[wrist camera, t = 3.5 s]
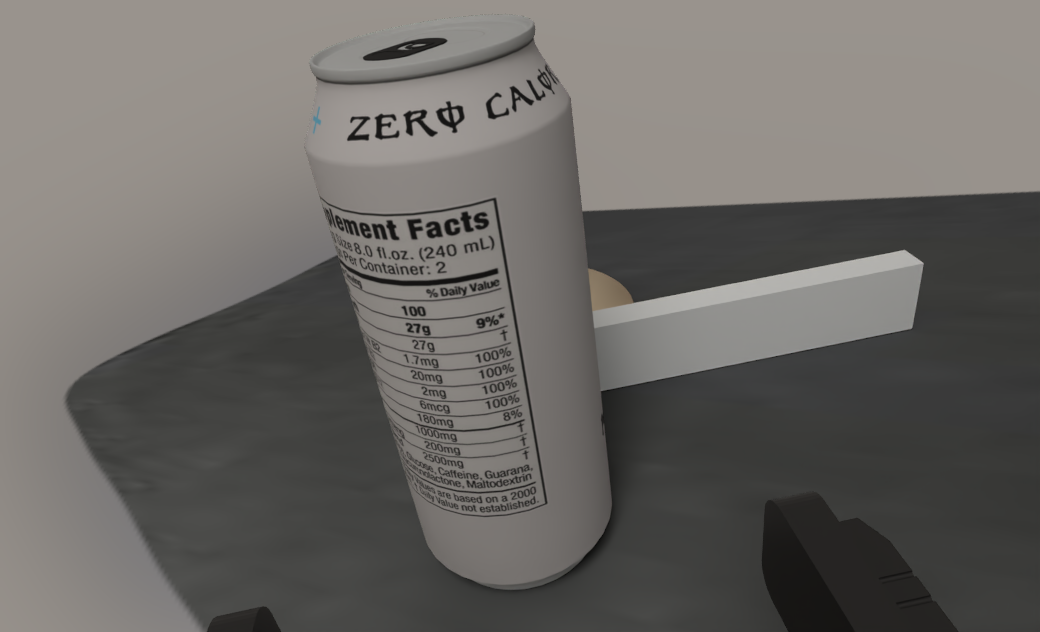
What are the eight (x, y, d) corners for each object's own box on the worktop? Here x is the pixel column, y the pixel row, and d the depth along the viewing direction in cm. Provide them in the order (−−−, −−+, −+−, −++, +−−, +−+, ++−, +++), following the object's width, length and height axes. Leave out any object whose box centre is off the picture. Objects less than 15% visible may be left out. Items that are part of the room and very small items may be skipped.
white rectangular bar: (894, 313, 30) (904, 250, 28) (911, 328, 29) (923, 263, 27) (399, 412, 29) (381, 352, 27) (399, 431, 28) (380, 370, 26)
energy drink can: (651, 506, 23) (620, 7, 15) (529, 645, 19) (405, 87, 11) (514, 437, 26) (431, 9, 19) (390, 543, 23) (226, 70, 15)
